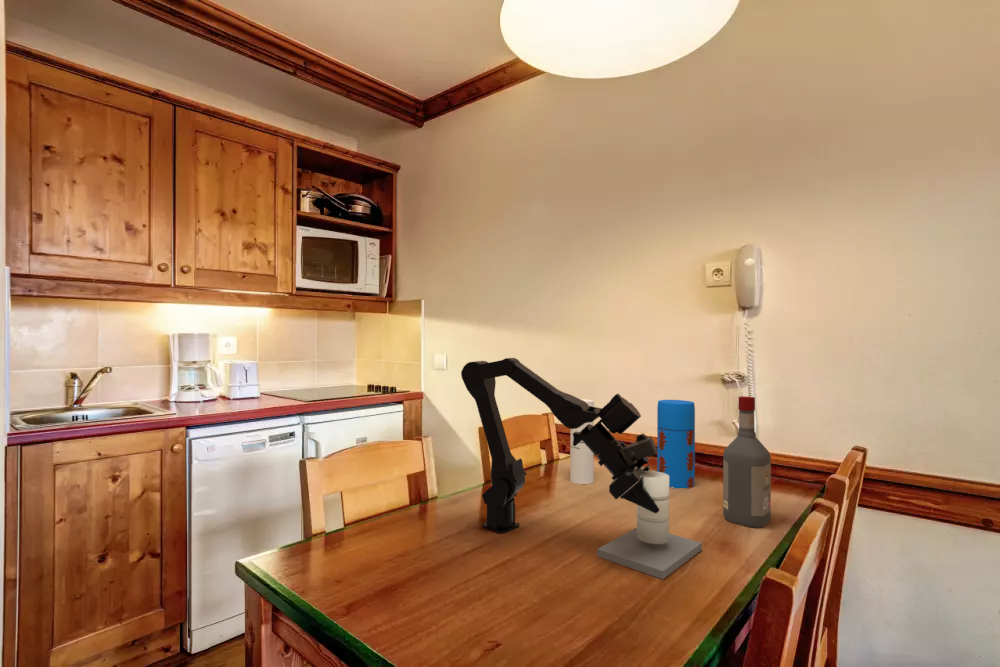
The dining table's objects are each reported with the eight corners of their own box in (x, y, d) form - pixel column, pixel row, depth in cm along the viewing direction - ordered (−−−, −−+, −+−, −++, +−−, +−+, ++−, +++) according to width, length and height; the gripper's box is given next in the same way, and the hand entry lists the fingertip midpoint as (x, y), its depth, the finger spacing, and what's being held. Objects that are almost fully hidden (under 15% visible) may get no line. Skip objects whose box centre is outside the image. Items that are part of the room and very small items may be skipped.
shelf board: (662, 579, 92) (662, 571, 92) (597, 556, 101) (597, 548, 101) (701, 549, 105) (701, 542, 105) (640, 531, 114) (640, 525, 114)
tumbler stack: (649, 545, 100) (649, 480, 100) (630, 533, 106) (630, 472, 106) (675, 541, 102) (676, 477, 102) (655, 530, 108) (656, 469, 108)
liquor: (773, 520, 122) (773, 397, 122) (760, 530, 116) (760, 400, 116) (734, 511, 129) (734, 394, 129) (720, 520, 122) (720, 397, 123)
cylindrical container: (593, 485, 151) (593, 402, 151) (569, 483, 152) (569, 401, 153) (593, 478, 158) (594, 399, 158) (570, 477, 159) (571, 398, 160)
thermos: (649, 481, 156) (649, 400, 156) (675, 477, 160) (675, 399, 161) (675, 490, 146) (675, 404, 146) (702, 486, 150) (702, 403, 151)
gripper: (626, 430, 97) (687, 495, 93) (639, 417, 114) (690, 471, 110) (586, 467, 100) (642, 531, 96) (604, 448, 117) (653, 502, 113)
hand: (659, 506), depth 103 cm, fingers closed on tumbler stack, 6 cm apart
